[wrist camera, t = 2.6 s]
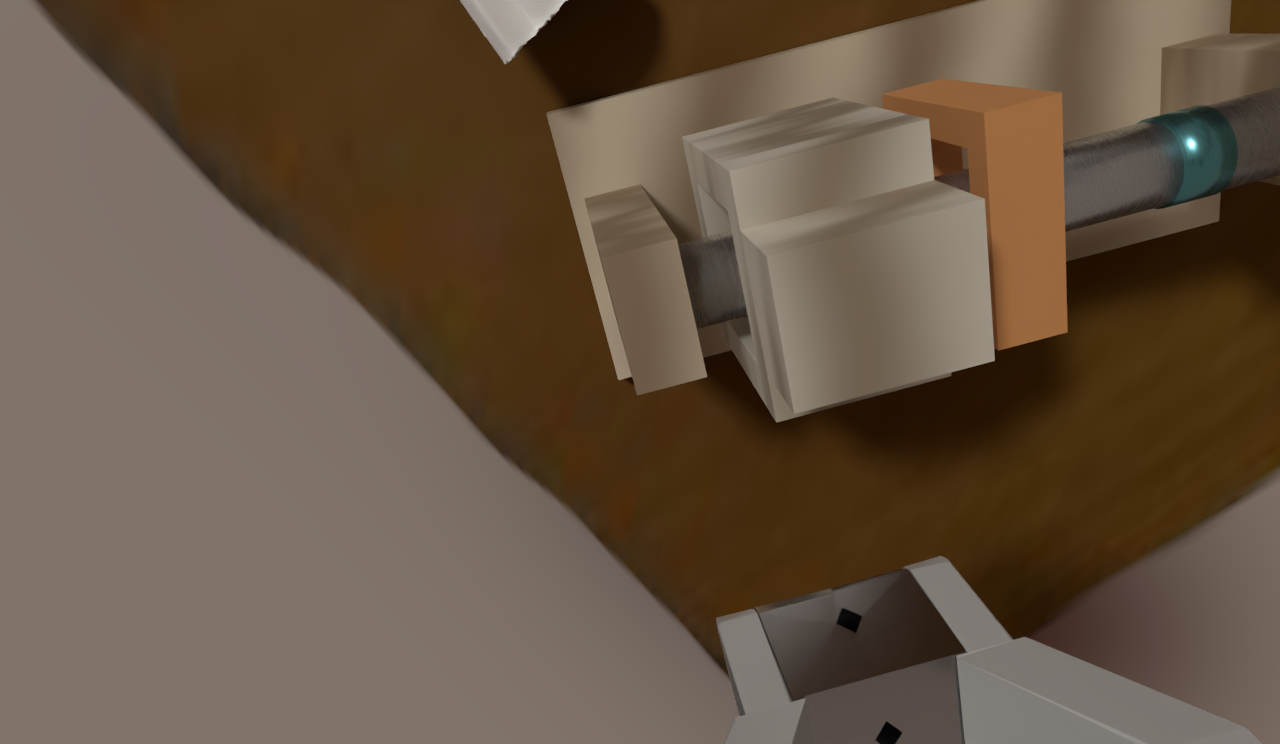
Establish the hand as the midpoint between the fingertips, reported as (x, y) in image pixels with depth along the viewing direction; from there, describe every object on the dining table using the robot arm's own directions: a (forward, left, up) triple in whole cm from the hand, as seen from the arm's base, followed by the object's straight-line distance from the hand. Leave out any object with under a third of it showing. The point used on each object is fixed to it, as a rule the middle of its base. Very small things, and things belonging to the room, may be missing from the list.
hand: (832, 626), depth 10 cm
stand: (-10, 0, -21) cm, 24 cm away
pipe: (-10, 0, -16) cm, 19 cm away
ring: (-9, 0, -18) cm, 21 cm away
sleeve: (-4, 0, -19) cm, 19 cm away
